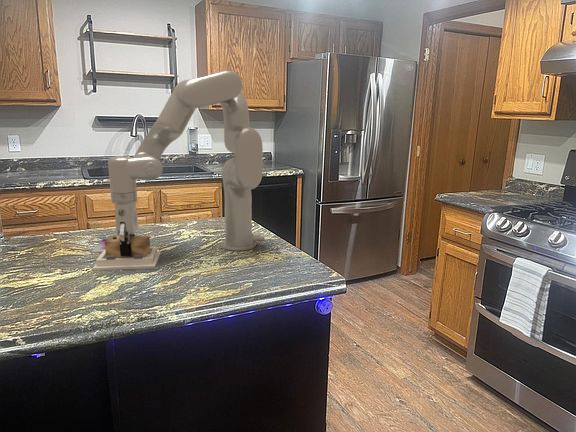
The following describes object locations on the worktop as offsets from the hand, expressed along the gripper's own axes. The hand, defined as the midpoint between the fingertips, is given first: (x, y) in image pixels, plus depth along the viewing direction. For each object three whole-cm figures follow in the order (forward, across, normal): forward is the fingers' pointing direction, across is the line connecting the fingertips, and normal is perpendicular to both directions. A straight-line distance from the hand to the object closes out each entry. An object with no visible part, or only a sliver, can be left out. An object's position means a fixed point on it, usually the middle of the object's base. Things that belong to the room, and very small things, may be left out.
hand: (128, 251), depth 136 cm
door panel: (+1, 0, 0) cm, 1 cm away
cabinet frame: (+3, 0, 0) cm, 3 cm away
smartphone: (+4, +17, +11) cm, 20 cm away
